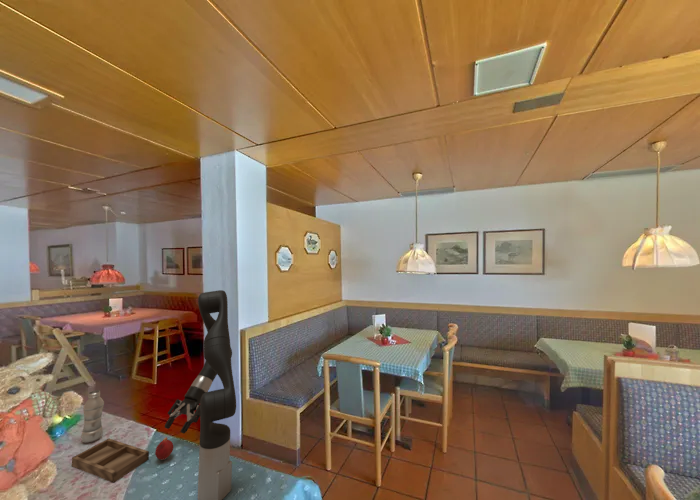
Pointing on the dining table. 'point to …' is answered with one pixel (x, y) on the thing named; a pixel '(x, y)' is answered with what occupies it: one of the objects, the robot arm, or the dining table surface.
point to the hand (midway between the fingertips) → (174, 430)
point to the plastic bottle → (92, 417)
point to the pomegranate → (164, 449)
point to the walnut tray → (110, 459)
